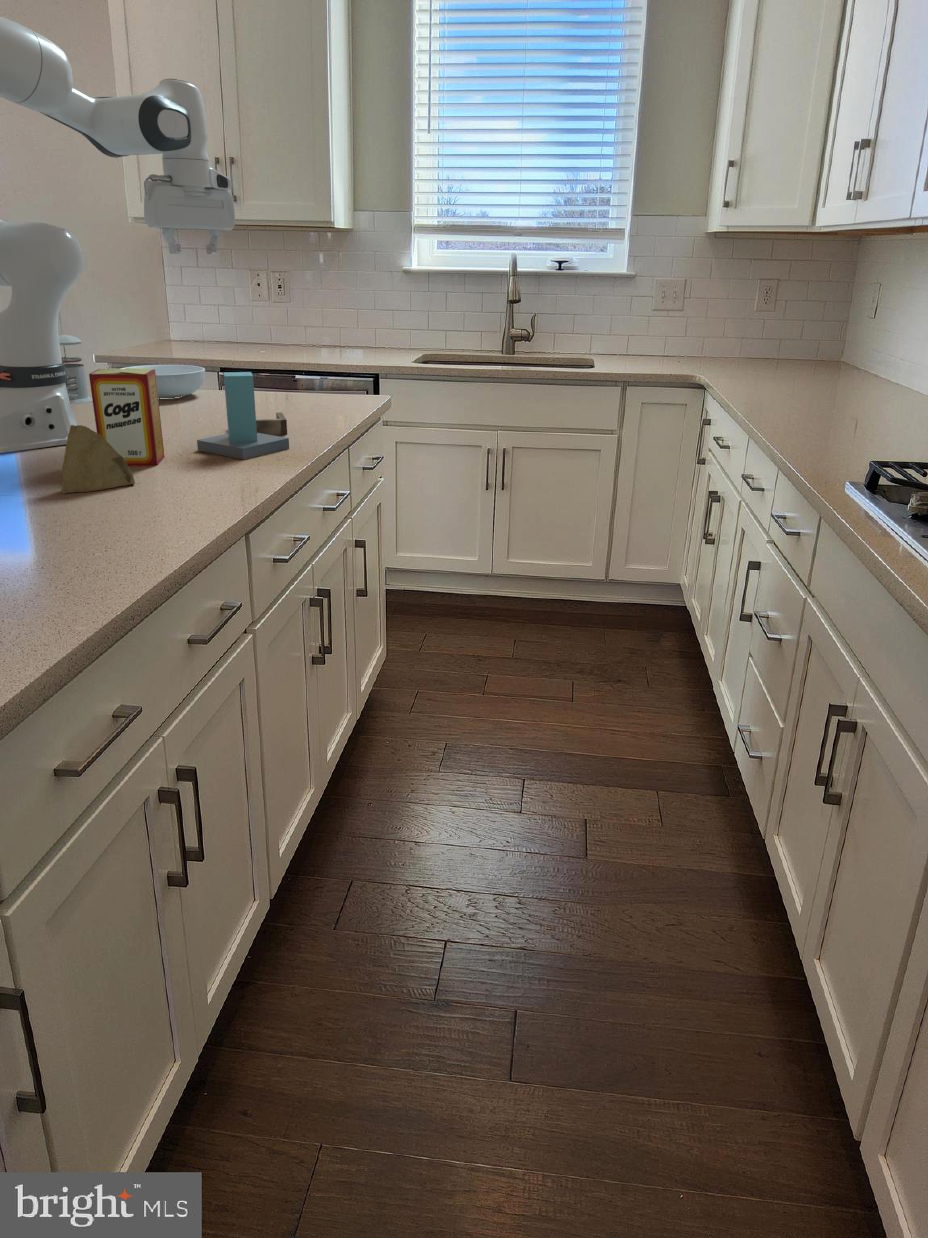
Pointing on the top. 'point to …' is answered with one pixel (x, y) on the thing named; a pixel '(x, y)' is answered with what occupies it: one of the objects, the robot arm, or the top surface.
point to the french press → (74, 372)
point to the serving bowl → (176, 379)
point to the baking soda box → (129, 413)
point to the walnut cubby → (272, 425)
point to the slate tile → (243, 446)
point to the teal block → (240, 406)
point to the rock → (92, 463)
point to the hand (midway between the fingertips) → (194, 253)
